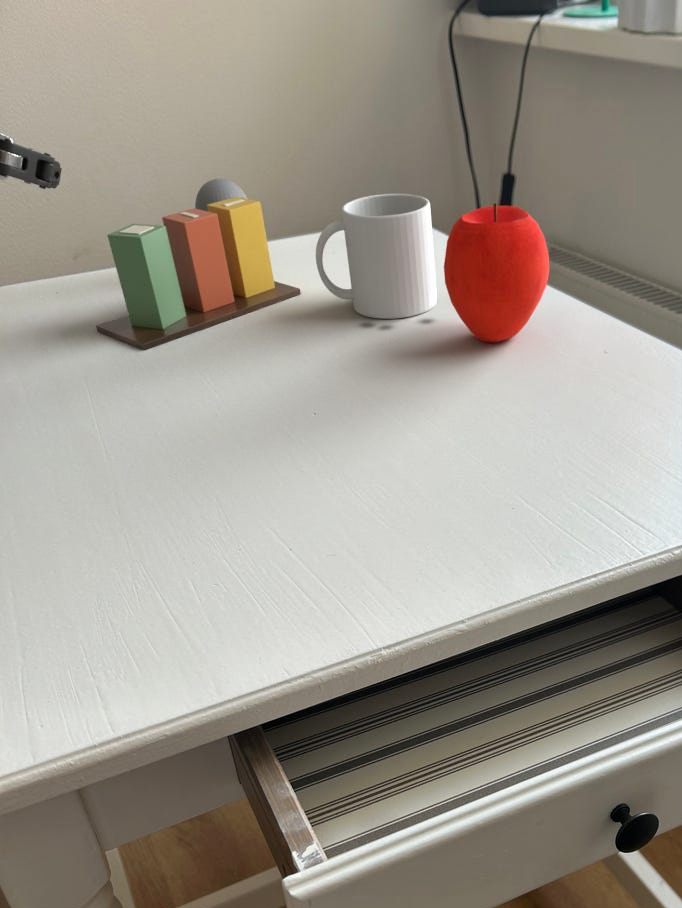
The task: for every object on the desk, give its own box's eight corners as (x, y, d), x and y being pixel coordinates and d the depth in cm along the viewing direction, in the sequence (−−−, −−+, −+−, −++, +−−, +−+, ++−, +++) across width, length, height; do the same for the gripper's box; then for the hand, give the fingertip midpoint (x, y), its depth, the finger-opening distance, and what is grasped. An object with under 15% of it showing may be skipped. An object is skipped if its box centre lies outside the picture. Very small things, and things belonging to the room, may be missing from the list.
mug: (451, 295, 105) (444, 196, 99) (409, 325, 99) (400, 221, 92) (364, 285, 109) (353, 189, 103) (318, 314, 102) (303, 213, 96)
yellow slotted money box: (224, 291, 108) (206, 203, 102) (253, 281, 110) (237, 195, 105) (246, 298, 106) (229, 209, 100) (275, 288, 108) (260, 200, 102)
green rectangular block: (131, 325, 101) (106, 233, 95) (155, 312, 103) (132, 222, 98) (163, 329, 99) (140, 236, 94) (186, 316, 102) (165, 224, 97)
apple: (550, 355, 91) (549, 216, 83) (444, 358, 91) (434, 221, 84) (549, 317, 99) (548, 187, 91) (452, 320, 99) (443, 191, 92)
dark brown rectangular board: (96, 331, 102) (95, 325, 101) (251, 279, 113) (250, 273, 112) (144, 350, 97) (143, 344, 96) (301, 293, 108) (300, 288, 108)
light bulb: (244, 259, 119) (227, 170, 113) (269, 269, 116) (253, 178, 109) (200, 270, 116) (180, 180, 110) (224, 281, 113) (205, 188, 106)
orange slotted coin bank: (182, 305, 105) (161, 216, 99) (212, 294, 107) (194, 207, 102) (203, 312, 103) (183, 221, 97) (234, 302, 105) (216, 212, 99)
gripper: (-32, 85, 68) (93, 139, 84) (-214, 28, 69) (-57, 91, 85) (-47, 197, 71) (78, 229, 86) (-222, 140, 72) (-68, 181, 87)
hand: (10, 160), depth 85 cm, fingers open, 8 cm apart
